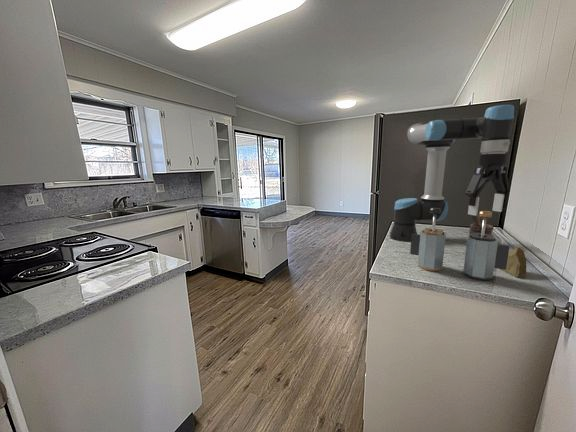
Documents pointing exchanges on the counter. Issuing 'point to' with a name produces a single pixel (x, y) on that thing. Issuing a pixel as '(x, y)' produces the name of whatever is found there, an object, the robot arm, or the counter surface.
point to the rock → (516, 263)
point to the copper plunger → (434, 216)
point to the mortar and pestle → (479, 226)
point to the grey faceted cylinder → (429, 249)
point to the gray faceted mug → (484, 256)
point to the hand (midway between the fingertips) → (484, 213)
